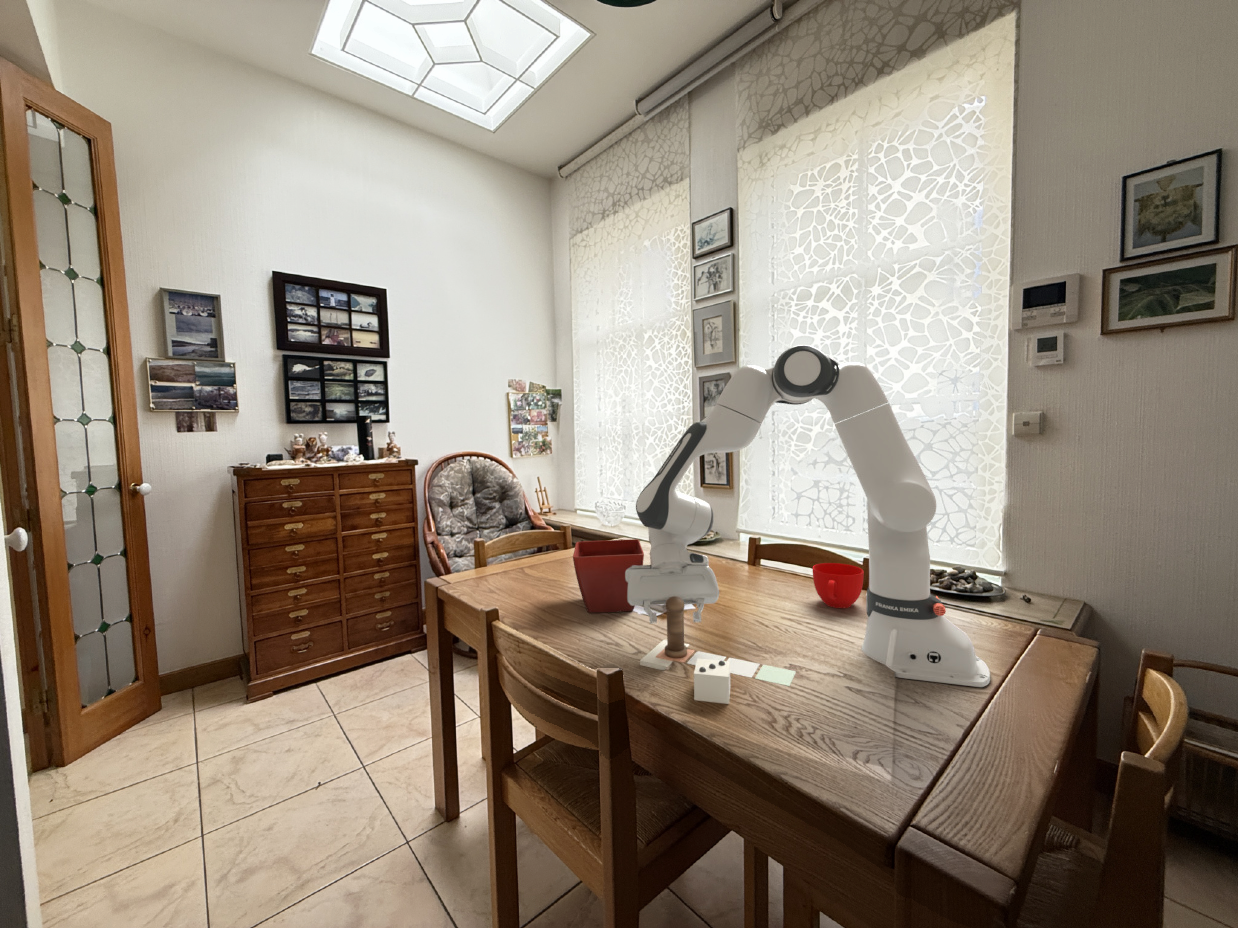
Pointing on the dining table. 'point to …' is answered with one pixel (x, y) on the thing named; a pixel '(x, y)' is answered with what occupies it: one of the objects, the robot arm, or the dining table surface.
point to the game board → (738, 667)
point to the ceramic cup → (838, 583)
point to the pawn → (675, 628)
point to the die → (712, 681)
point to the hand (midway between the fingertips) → (675, 621)
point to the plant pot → (606, 572)
